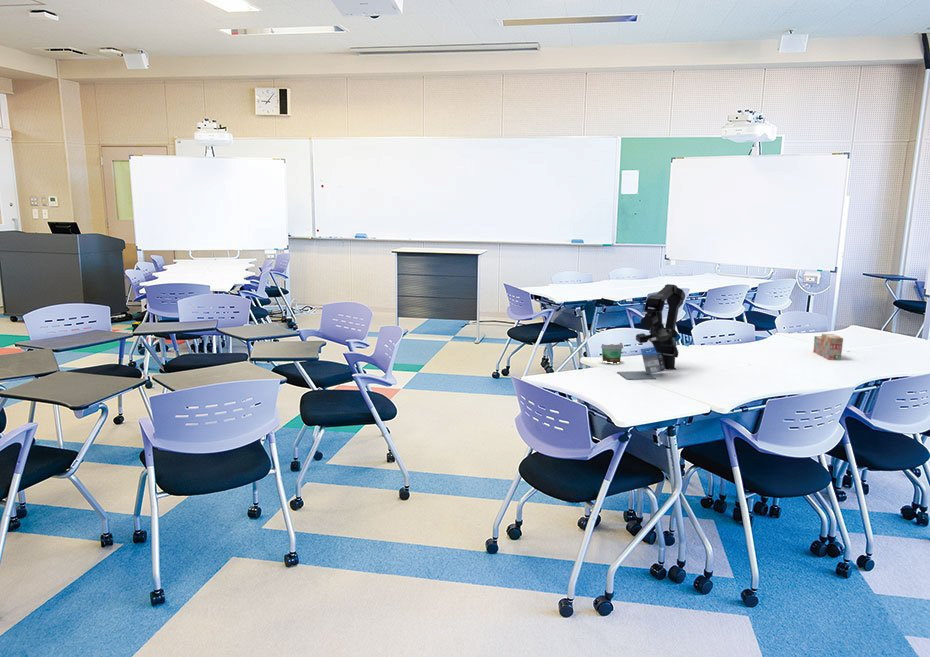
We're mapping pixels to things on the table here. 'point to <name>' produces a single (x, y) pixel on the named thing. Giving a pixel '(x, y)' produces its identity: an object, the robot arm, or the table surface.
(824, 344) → the printed cardboard box
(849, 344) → the table surface
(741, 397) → the table surface
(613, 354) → the food container
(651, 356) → the label tape cartridge
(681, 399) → the table surface
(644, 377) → the mat
